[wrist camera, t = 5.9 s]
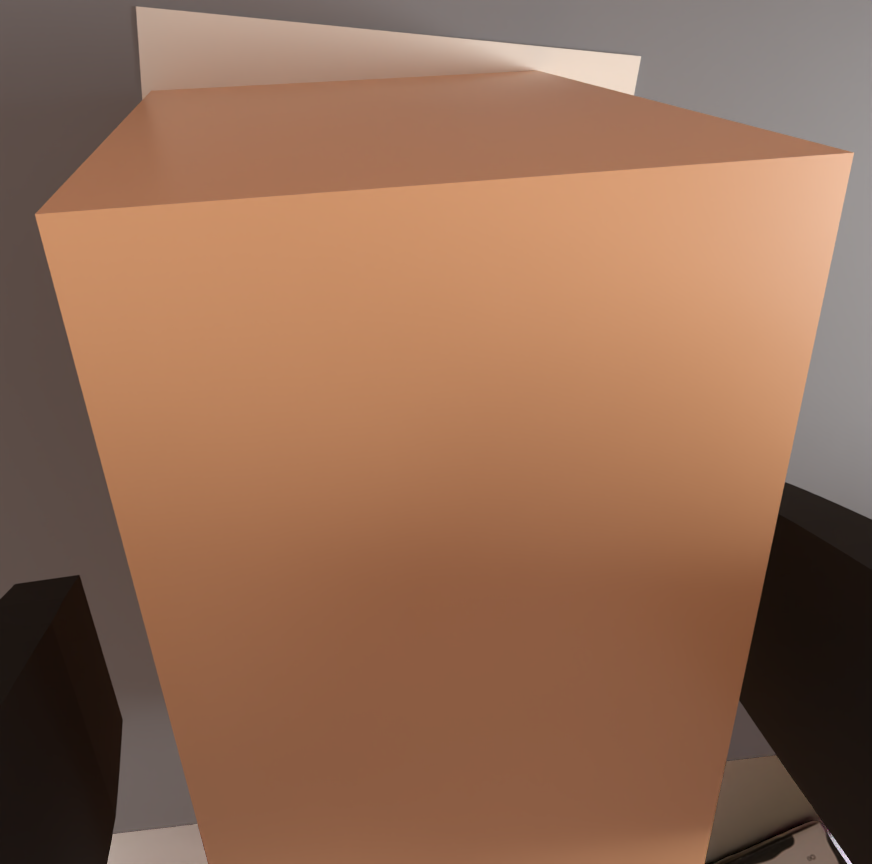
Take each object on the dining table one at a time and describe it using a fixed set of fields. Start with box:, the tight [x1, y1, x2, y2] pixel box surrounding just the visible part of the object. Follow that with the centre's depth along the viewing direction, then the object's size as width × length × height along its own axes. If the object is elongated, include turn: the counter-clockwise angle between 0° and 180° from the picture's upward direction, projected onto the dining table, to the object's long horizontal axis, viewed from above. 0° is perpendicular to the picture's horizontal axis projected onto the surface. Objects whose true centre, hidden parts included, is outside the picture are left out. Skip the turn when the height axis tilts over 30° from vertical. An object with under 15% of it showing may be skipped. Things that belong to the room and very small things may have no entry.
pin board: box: [0, 0, 872, 834], centre depth 11 cm, size 20×16×5 cm
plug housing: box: [35, 71, 854, 864], centre depth 9 cm, size 5×10×6 cm, turn 3°
